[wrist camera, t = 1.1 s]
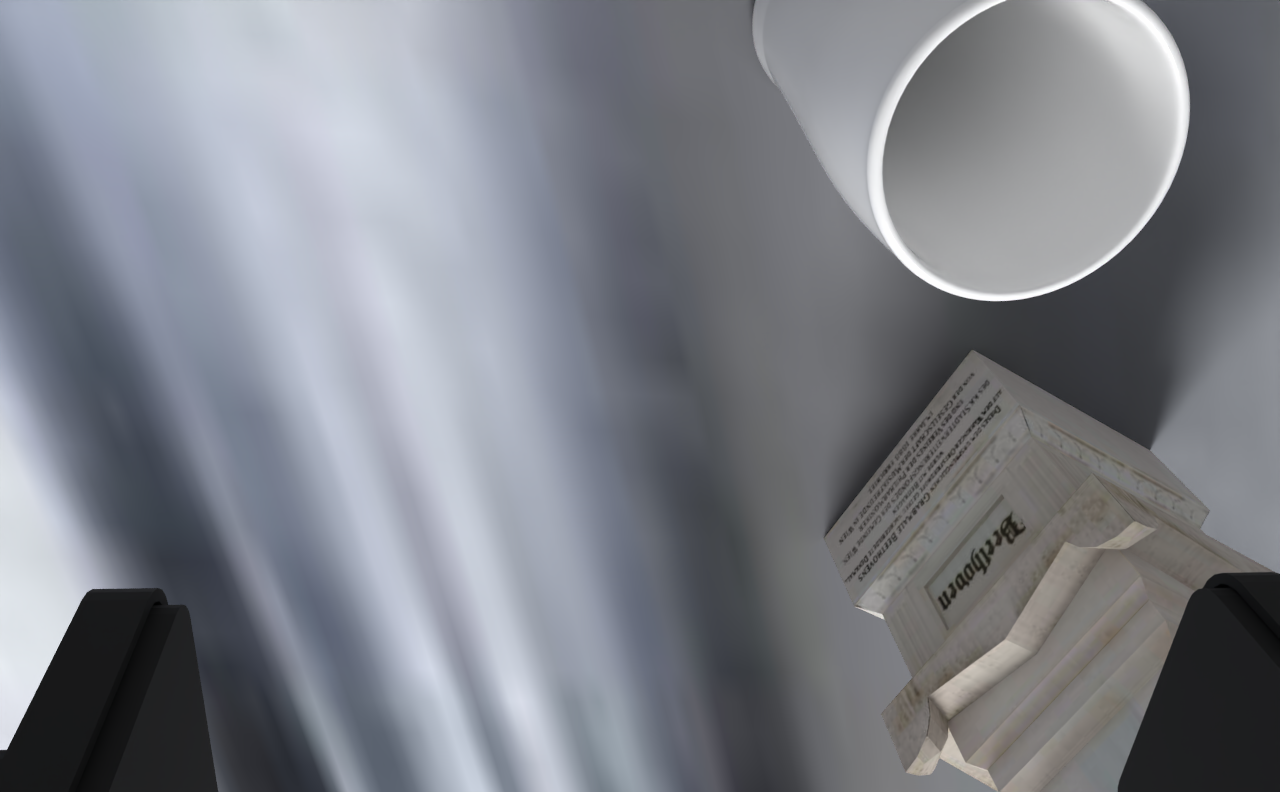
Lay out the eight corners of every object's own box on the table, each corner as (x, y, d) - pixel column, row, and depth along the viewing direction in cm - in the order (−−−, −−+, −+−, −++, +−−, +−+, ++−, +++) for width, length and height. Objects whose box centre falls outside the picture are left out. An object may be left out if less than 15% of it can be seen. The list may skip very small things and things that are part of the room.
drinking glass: (779, -138, 33) (969, -88, 20) (973, -52, 35) (1265, 45, 22) (692, 81, 36) (809, 252, 23) (876, 150, 38) (1083, 345, 25)
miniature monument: (969, 333, 41) (1795, 1271, 15) (1165, 445, 45) (2107, 1364, 19) (808, 541, 45) (1249, 1584, 19) (1000, 630, 49) (1596, 1612, 23)
